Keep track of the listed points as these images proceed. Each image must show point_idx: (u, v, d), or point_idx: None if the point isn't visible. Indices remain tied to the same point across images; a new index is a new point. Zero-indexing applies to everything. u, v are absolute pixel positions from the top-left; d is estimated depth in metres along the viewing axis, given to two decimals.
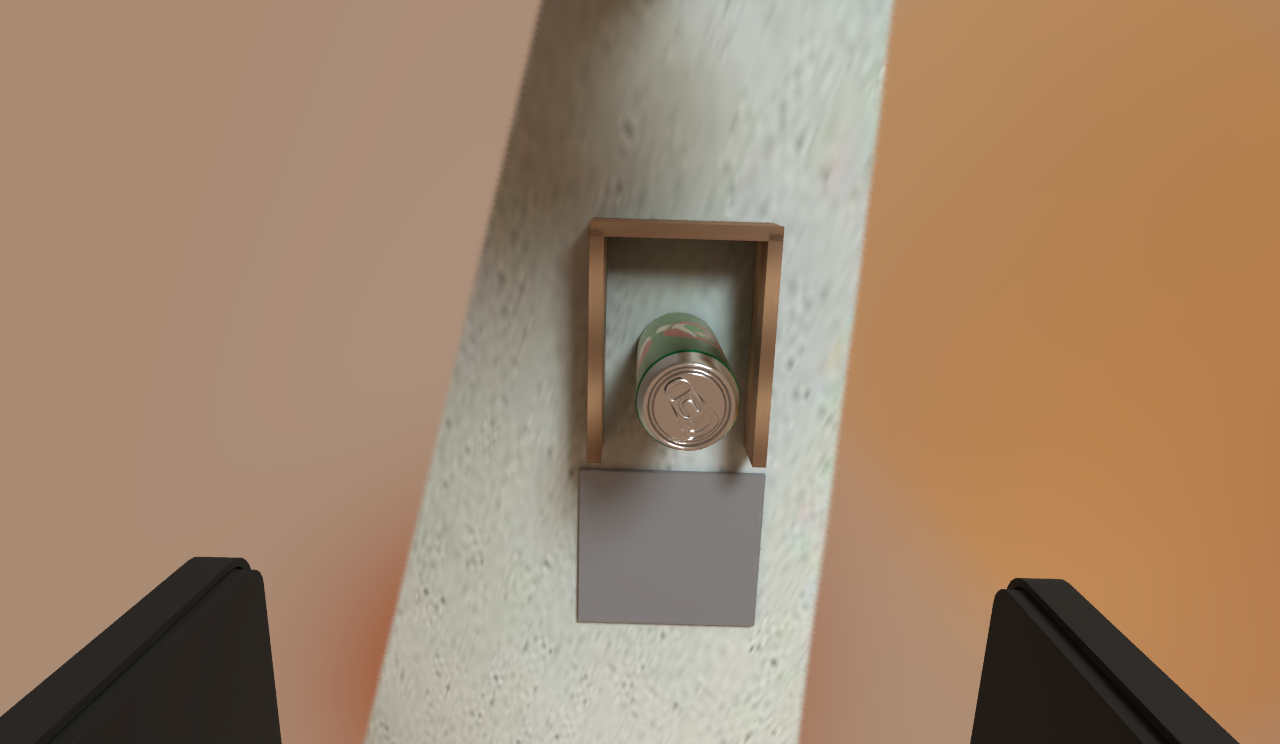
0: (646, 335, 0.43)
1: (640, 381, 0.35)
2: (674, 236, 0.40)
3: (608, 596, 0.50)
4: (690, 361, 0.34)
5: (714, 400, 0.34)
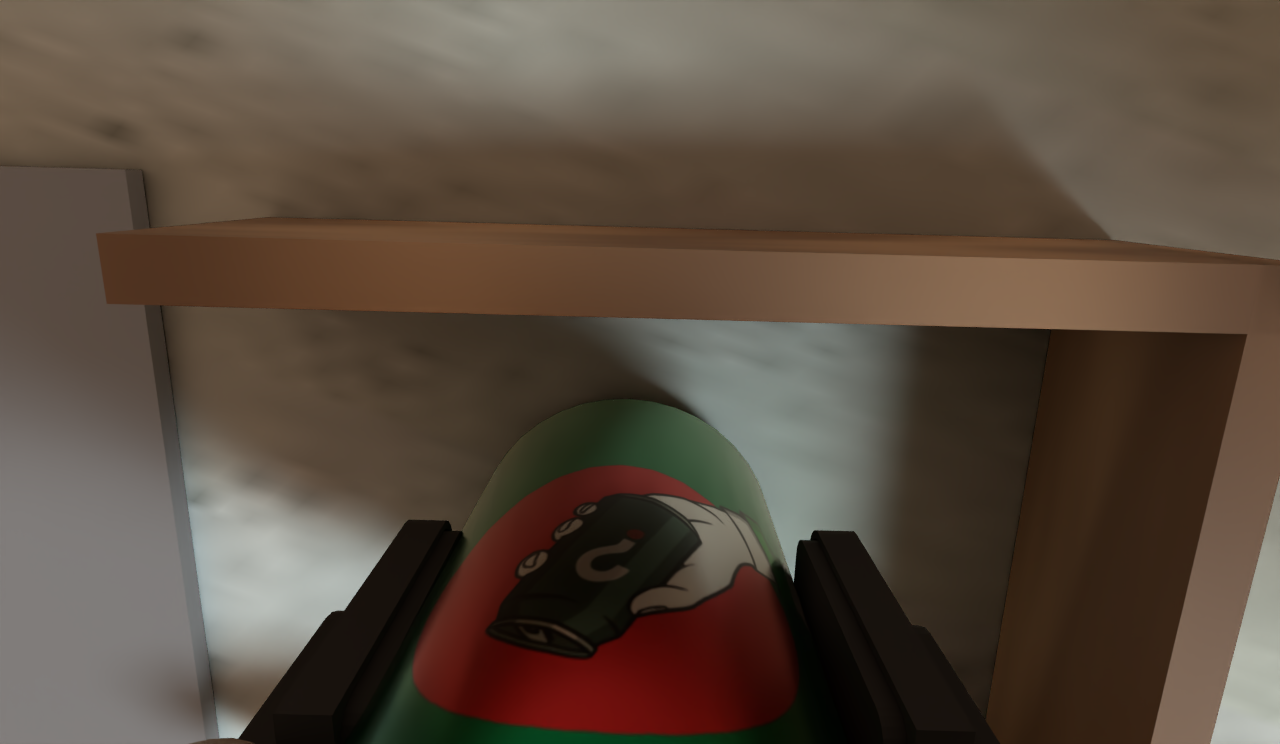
0: (733, 488, 0.10)
1: None
2: (1186, 626, 0.10)
3: None
4: None
5: None
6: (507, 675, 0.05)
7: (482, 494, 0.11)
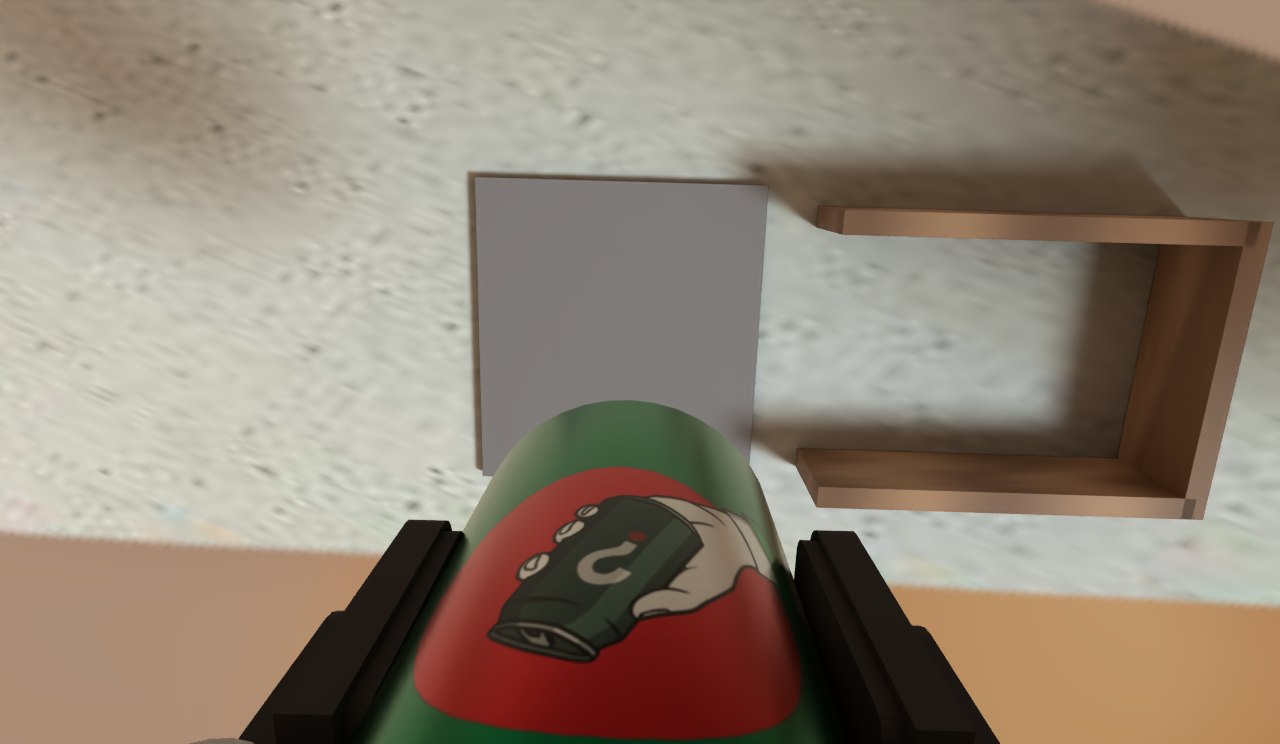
0: (734, 490, 0.10)
1: None
2: (1220, 359, 0.25)
3: (527, 232, 0.28)
4: None
5: None
6: (509, 681, 0.05)
7: (483, 495, 0.11)
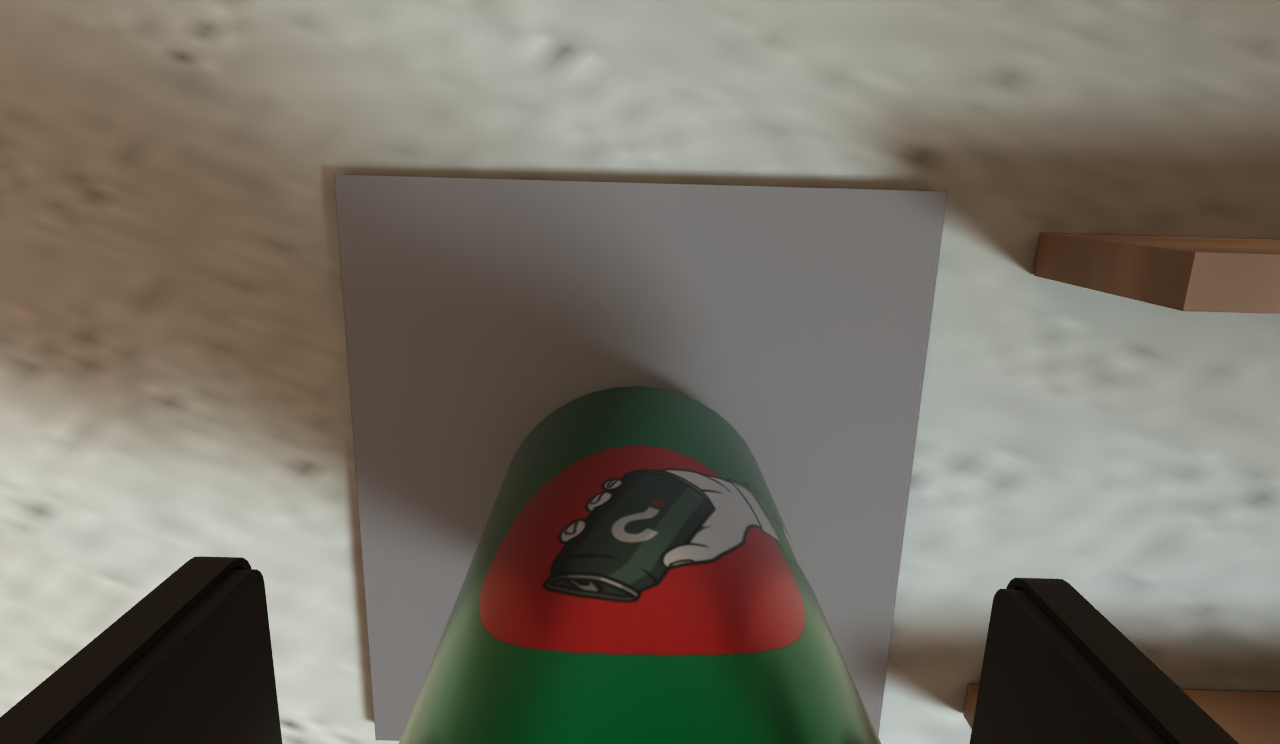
0: (735, 463, 0.11)
1: None
2: None
3: (446, 288, 0.14)
4: None
5: None
6: (569, 617, 0.07)
7: (506, 477, 0.13)
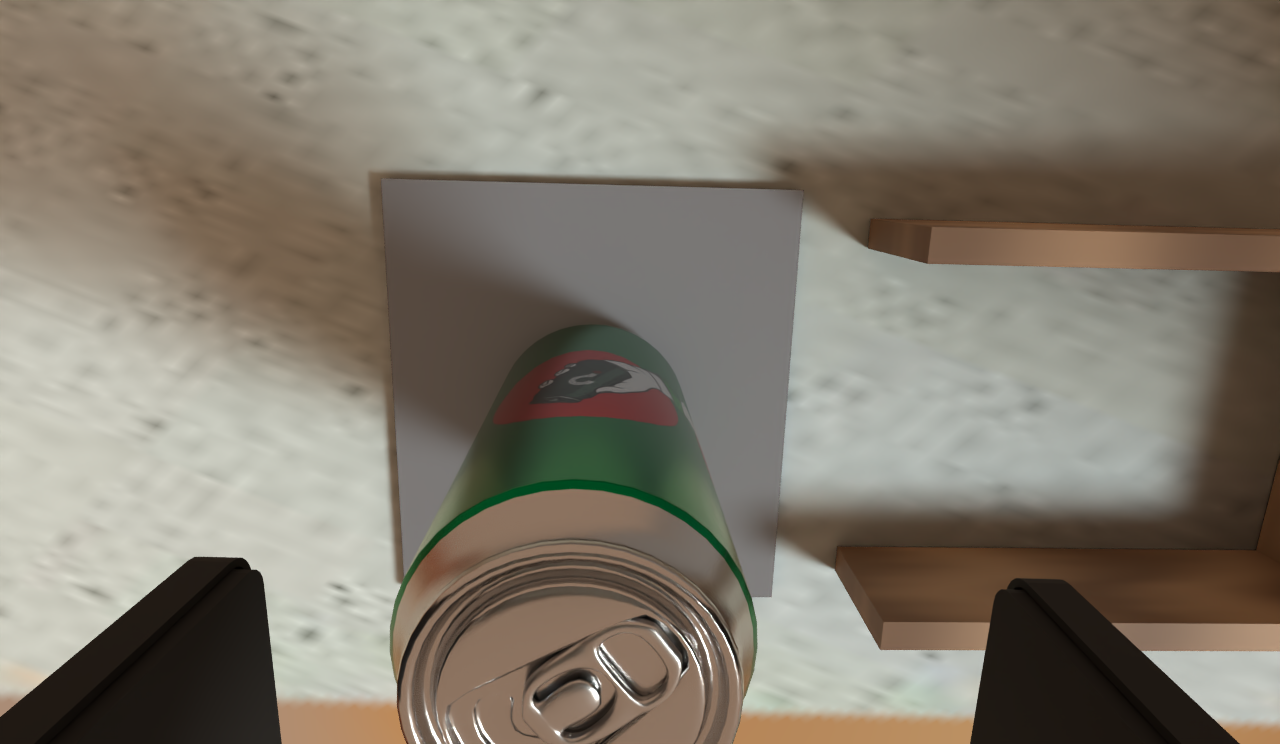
0: (654, 365, 0.17)
1: (641, 494, 0.10)
2: None
3: (459, 258, 0.20)
4: None
5: None
6: (543, 409, 0.13)
7: (503, 383, 0.18)
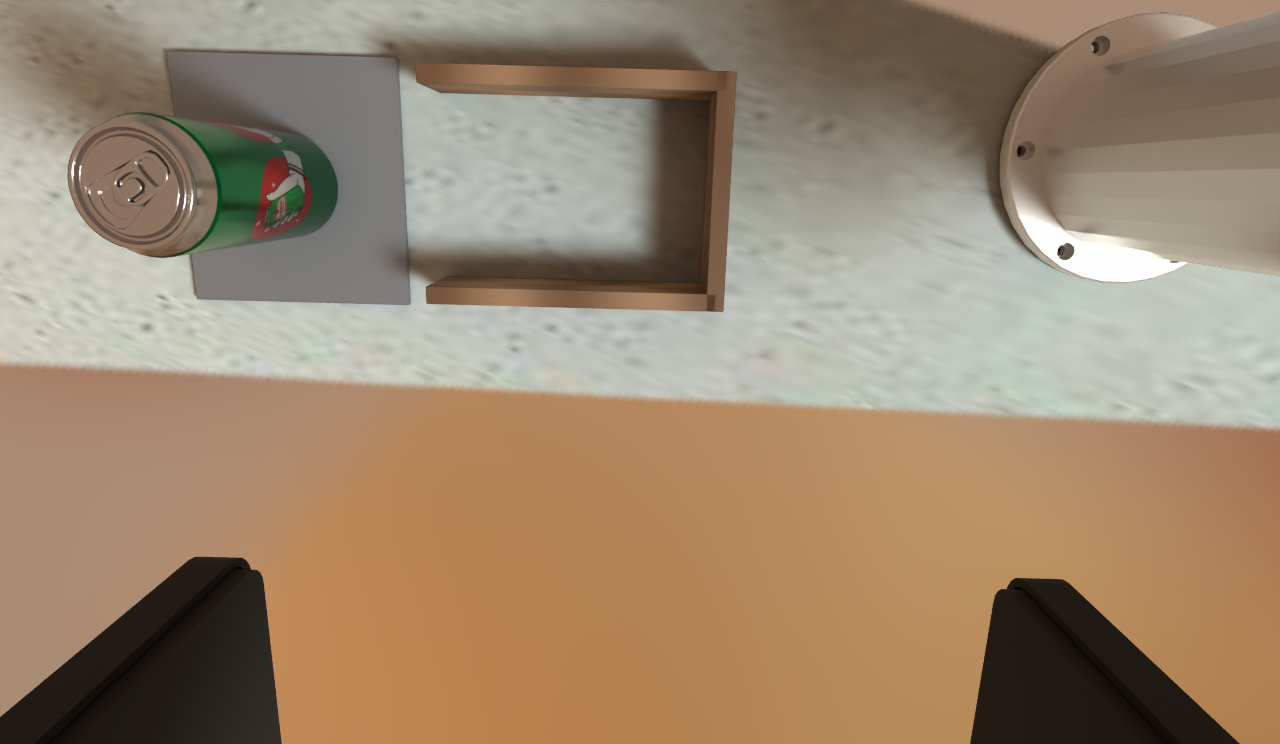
0: (290, 139, 0.33)
1: (164, 118, 0.26)
2: (715, 181, 0.33)
3: (211, 96, 0.36)
4: (198, 186, 0.26)
5: (147, 220, 0.26)
6: None
7: None
